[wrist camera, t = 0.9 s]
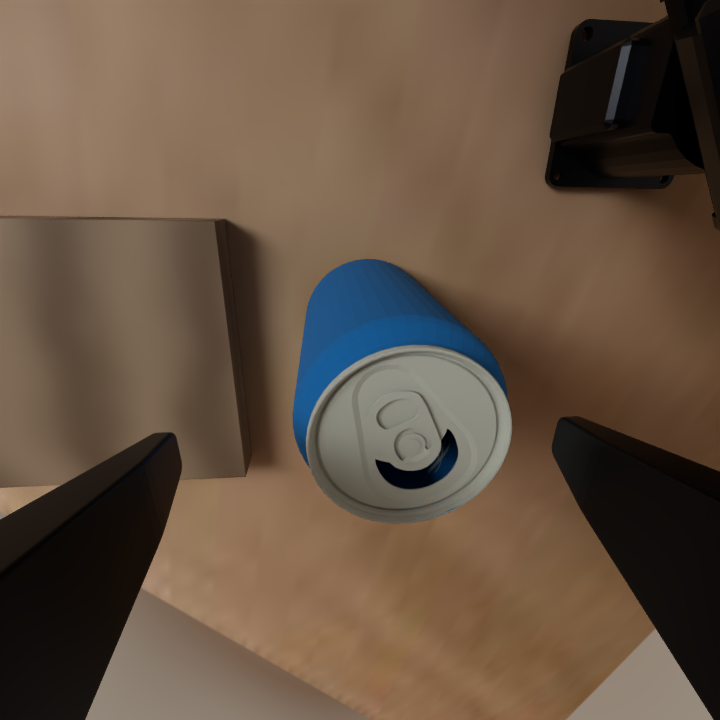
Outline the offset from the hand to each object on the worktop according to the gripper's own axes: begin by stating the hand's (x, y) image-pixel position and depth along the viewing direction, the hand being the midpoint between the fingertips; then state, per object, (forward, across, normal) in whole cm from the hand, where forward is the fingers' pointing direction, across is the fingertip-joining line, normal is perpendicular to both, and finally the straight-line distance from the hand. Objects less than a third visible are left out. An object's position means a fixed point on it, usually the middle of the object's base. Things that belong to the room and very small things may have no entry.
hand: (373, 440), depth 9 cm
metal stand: (+13, +13, +3) cm, 18 cm away
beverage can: (+13, -1, +1) cm, 13 cm away
